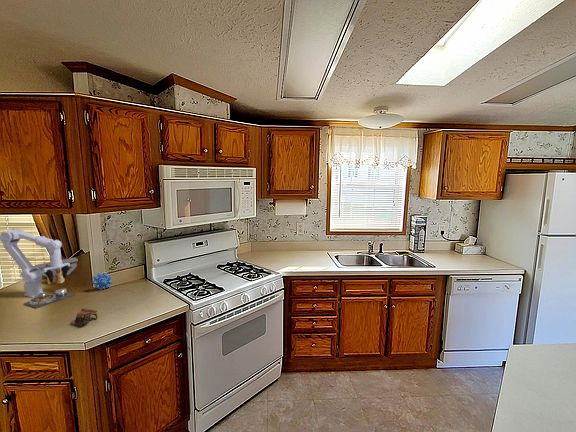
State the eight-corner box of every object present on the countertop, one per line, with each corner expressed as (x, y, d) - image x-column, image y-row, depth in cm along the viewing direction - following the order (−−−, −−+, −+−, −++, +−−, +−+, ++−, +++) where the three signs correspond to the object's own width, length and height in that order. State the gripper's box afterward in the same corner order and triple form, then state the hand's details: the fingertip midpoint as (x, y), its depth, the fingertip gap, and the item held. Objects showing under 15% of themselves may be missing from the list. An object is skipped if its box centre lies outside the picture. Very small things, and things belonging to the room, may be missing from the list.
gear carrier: (24, 304, 172) (23, 298, 171) (61, 292, 190) (60, 286, 190) (36, 308, 167) (35, 301, 166) (73, 295, 185) (73, 289, 185)
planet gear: (30, 302, 173) (30, 294, 173) (47, 296, 181) (46, 289, 180) (38, 304, 170) (37, 297, 169) (55, 299, 177) (54, 292, 177)
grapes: (95, 293, 187) (93, 276, 186) (92, 291, 192) (90, 273, 190) (115, 288, 196) (113, 271, 195) (111, 286, 201) (109, 269, 199)
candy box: (65, 281, 211) (62, 261, 209) (61, 283, 206) (59, 262, 204) (51, 282, 209) (49, 261, 207) (47, 284, 205) (45, 263, 203)
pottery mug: (71, 324, 150) (78, 307, 153) (91, 326, 156) (97, 310, 159) (74, 326, 141) (81, 308, 144) (96, 328, 147) (102, 312, 150)
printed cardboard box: (39, 281, 211) (37, 266, 210) (36, 279, 216) (34, 265, 215) (79, 272, 231) (77, 259, 230) (75, 270, 236) (74, 257, 235)
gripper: (46, 263, 177) (49, 284, 179) (71, 257, 191) (73, 276, 192) (39, 261, 180) (42, 282, 182) (65, 255, 193) (67, 275, 195)
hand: (58, 279), depth 187 cm, fingers open, 7 cm apart
